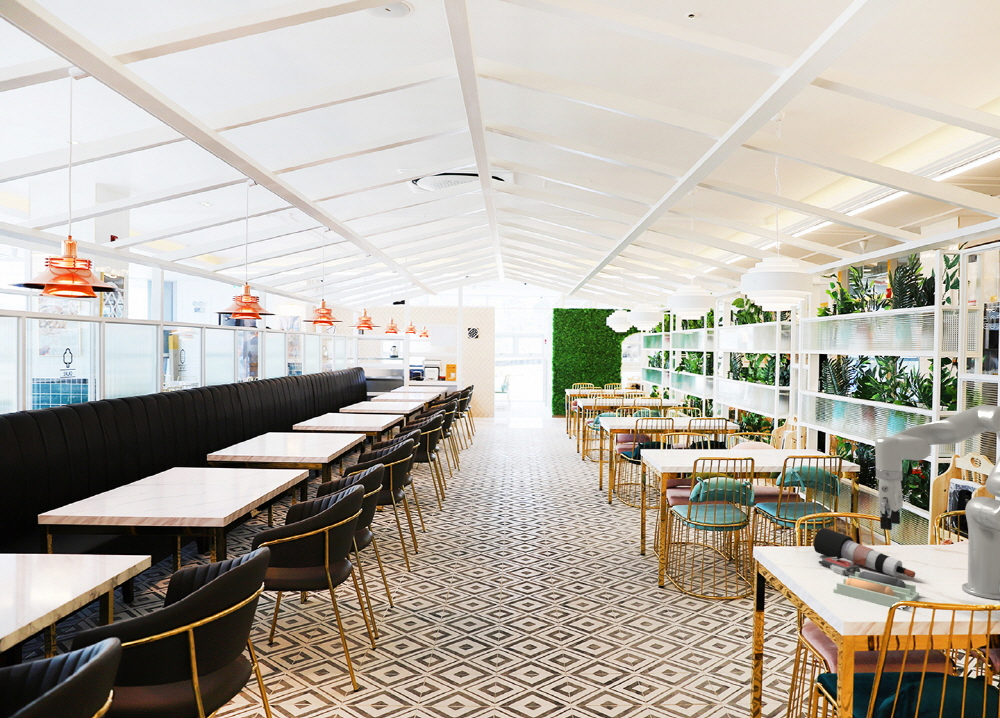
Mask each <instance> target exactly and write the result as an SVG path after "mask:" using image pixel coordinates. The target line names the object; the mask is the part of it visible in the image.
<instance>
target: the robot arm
mask: <svg viewBox="0 0 1000 718" xmlns="http://www.w3.org/2000/svg"><path fill="white" fill-rule="evenodd" d="M986 432H993V433H995V434H996V436H997V438H998V441H1000V406H999V405H988V404H981V405H979V404H978V405H975V406H974V407H973V406H972V407H970V408H968V409H966V410H962V411H961V412H959V413H957V414H954V415H951V416H949V417H946V418H944V419H939V420H936V421H931V422H928V423H923V424H919V425H916V426H911V427H910V428H907V429H905V430H903V431H900V432H897V433H896V434H894V435H892V436H881V437H877V438H876V439H875V441H874V442H875V443H874V447H875V450H874V451H875V479H876V480H878V507H879V509H880V513H879V521H880V522H879V523H880V524H879V525H880V530H884V531H885V530H886V531H887V530H888V531H892V529H893V524H895V525H901V513H900V509H902V508H903V505H904V501H903V492H902V491H903V490H902V489H903V488H902V482H901V481H903V460H910V461H922V460H925V459H927V458H928V457H929V456H930V454H931V453H932V447H931V446H932V445H934V446H935V445H952V444H954V445H955V444H959V443H962V442H964V441H966V440H968V439H970V438H973V437H976V436H978V435H980V434H983V433H986ZM985 489H986V490H987V492H988V493H989V494H990V495H992V496H995V497H997V498H1000V456H998V459H997V461H996V463H995V464H994V467H992V470H991V472H990V473H989V475H988V477H987V479H986V480H985ZM964 512H965V517H966V522H967V529H968V545H967V548H968V550H967V552H968V553H967V583H962V584H961V589H962V591H964V592H966V593H967V594H970V595H972V596H976V597H980V598H984V599H992V600H1000V500H999V499H994V498H991V497H987V496H975V497H972V498H970V500H968V502H966V506H965V511H964Z"/></svg>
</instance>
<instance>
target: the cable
mask: <svg viewBox="0 0 1000 718" xmlns="http://www.w3.org/2000/svg"><path fill="white" fill-rule="evenodd" d="M813 549H814V551H815V553H818V554H819V555H823V556H825V557H826V558H827V557H837V559H842V558H844V559H847V560H850V561H852V562H853V563H854V565H858V566H862V567H865V568H866V569H867V568H868V569H872V570H874V571H877V572H880V573H883V574H886V575H888V576H890V577H893V578H897V577H899V576H900V575H904V576H907V577H910V578H912V579H914V578H915V577H916V571H913V570H911V569H908V568H906V567H903V562H902V561H901V560H900V559H897V558H894V557H891V556H890V555H886V554H884V553H882V552H880V551H876V550H875V549H873V548H870V547H867V546H865V545H862V544H860V543H857V542H855V541H854V539H853V538H852V537H851V536H850V535H846V534H843V533H840V532H837V531H835V530H833V529H829V528H826V527H823V528H820V529H819V530H818V531H816V534H815V537H814V540H813ZM842 561H843V560H842Z"/></svg>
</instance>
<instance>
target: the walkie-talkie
mask: <svg viewBox="0 0 1000 718" xmlns="http://www.w3.org/2000/svg"><path fill="white" fill-rule="evenodd" d="M842 560H843V561H842ZM818 564H820V565H821V566H822V567H823V568H826V569H829V570H831V571H832V572H833V573H836V574H837V575H840V576H848V577H849V576H854V577H855V572H861V569H860V568H861V567H860V565H858V564H855V563H853V562H852V561H850V560H847V559H844V558H842V559H837V557H827V556H826V557H822V558H821V560H819V561H818Z"/></svg>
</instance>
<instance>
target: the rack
mask: <svg viewBox="0 0 1000 718" xmlns="http://www.w3.org/2000/svg"><path fill="white" fill-rule="evenodd" d="M860 572H861V571H860ZM860 572H855V577H854V576H849V575H848V578H843V582H842V583H840V582H837V583H836V587H835V588H833V589H832V590H833V593H835V594H838V595H842V596H846V597H850V598H853V599H859V600H861V601H866V602H870V603H874V604H878V605H880V606H886V607H889V608H891V607H890V606H892V605H893V604H895V603H896V602H899V601H913V602H914V601H915V600H916V599H917V598H918V597H920V593H919V592H917V591H916V587H917V586H916V584H915V585H914V584H911V583H906V582H904V583H905V585H906V588H901V587H896V586H892V585H888V584H884V583H880V582H875V581H871V580H867V579H863V578H858V575H859V573H860ZM849 578H854V579H858V580H863V581H867V582H871V583H875V584H879V585H883V586H888V587H890V588H891V589H892V590H893V592H894V596H890V595H886V594H882V593H878V592H874V591H870V590H866V589H862V588H858V587H854V586H849V585H845V582H846V580H847V579H849ZM901 608H902V609H903V608H905V607H901ZM905 609H906V608H905ZM903 610H904V609H903Z"/></svg>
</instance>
